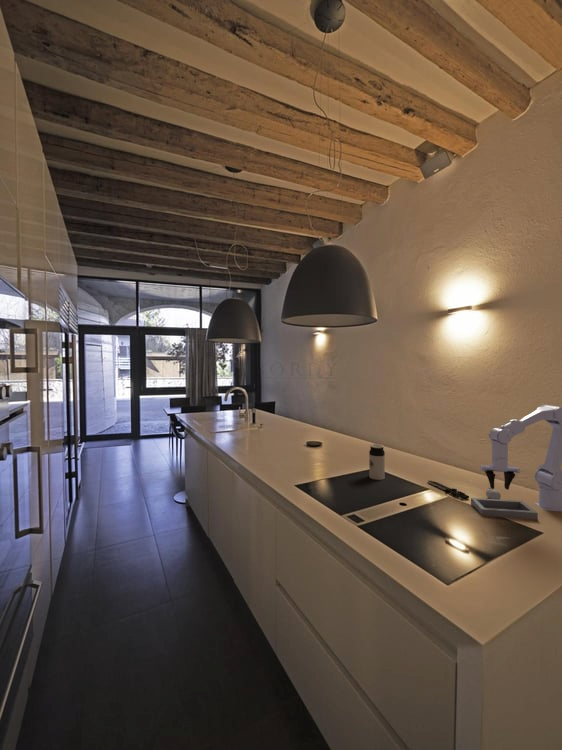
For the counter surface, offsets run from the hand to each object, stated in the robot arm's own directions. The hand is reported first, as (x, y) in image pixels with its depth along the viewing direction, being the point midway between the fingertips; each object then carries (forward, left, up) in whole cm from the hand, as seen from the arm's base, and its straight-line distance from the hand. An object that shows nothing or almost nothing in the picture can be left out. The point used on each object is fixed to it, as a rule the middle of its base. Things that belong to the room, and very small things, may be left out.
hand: (499, 488), depth 143 cm
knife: (+19, -14, -11) cm, 26 cm away
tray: (+1, +4, -8) cm, 9 cm away
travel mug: (+48, -31, -9) cm, 57 cm away
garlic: (-1, -10, -9) cm, 13 cm away
